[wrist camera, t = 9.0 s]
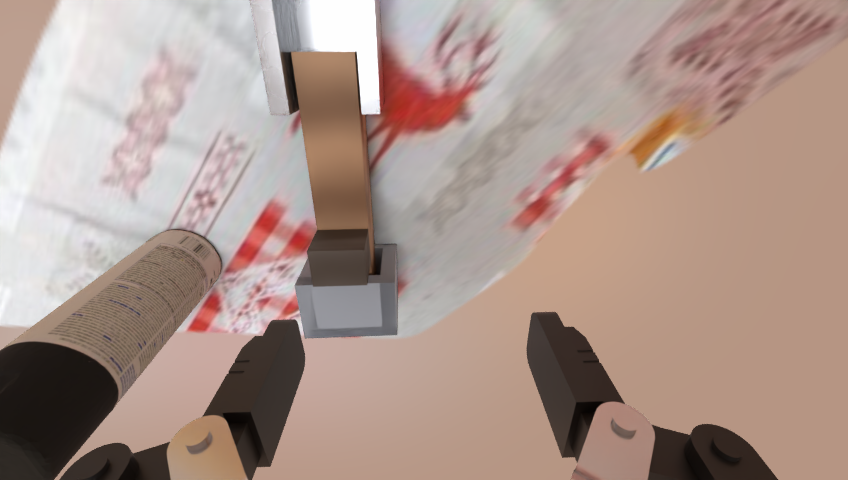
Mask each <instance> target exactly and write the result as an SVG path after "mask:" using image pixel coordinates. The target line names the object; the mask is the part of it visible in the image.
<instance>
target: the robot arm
mask: <svg viewBox="0 0 848 480" xmlns="http://www.w3.org/2000/svg"><path fill="white" fill-rule="evenodd" d="M527 359H528V363H529V366H530V369H531V372H532V375H533V378H534V380H535V383H536V386H537V389H538V392H539V394H540V397H541V400H542V402H543V405H544V408H545V411H546V413H547V416H548V419H549V422H550V425H551V428H552V430H553V433H554V436H555V439H556V441H557V444H558V447H559V450H560V453H561V455H562V458H563V457H575V458H576V461H577V466H576V469H575V470H574V472H573V474H572V477H571V480H778V479H777V478H776V476H775V475H774V474H773V473H772V471H771V470H770V469H769V467H768V466H767V465H766V464H765V462H764V461H763V460H762V459H761V457H760V456H759V455H758V453H757V452H756V451H755V450H754V449H753V447H752V446H751V445H750V444H748V442H746V441H745V440H744V439H743V438H741V437H740V436H738V435H737V434H735V433H733V432H732V431H730V430H728V429H725V428H723V427H720V426H717V425H712V424H702V425H698V426H696V427H695V428H694V429H693V430H692V433H691V434H690V435H688V434H684V433H680V432H676V431H672V430H668V429H664V428H660V427H657V426H654V425H651V423H650V422H649V421H648V419H647V418H646V417H645V416H644V415H643V414H642V413H640V412H639V411H638V410H636V409H635V408H633V407H631V406H629V405H626V404H625V403H624V402H623V400H622V398H621V396H620V395H619V393H618V392H617V390H616V388H615V386H614V385H613V383H612V381H611V380H610V378H609V376H608V375H607V373H606V371H605V370H604V368H603V366H602V364H601V363H599V359H598V358H597V356H596V355H595V353H593V349H592V348H591V346H590V344H589V342H588V341H587V339H586V337H584V336H583V335H582V334H581V333H580V332H579V331H577V330H576V329H575V328H574V327H564V325H563V323H562V322H561V320H560V318H559V316H558V314H557V313H556V312H537V313H532V315H531V321H530V328H529V334H528V341H527ZM304 366H305V353H304V348H303V344H302V340H301V335H300V331H299V327H298V323H297V321H296V320H295V319H293V320H272V321H271V322H270V324H269V325H268V327H267V329H266V331H265V333H264V335H263V336H255V337H254V338H253V339H252V340H251V341H249V342H248V343H247V344H246V345H245V346H244V347H243V348H242V349H241V351H240V353H239V354H238V356H237V358H236V360H235V363H233V365H232V367H231V368H230V370H229V374H227V376H226V377H225V379H224V381H223V382H222V384H221V386H220V388H219V389H218V391H217V393H216V394H215V396H214V398H213V400H212V401H211V403H210V405H209V407H208V408H207V410H206V412H205V413H204V415H203V417H201V418H198V419H196V420H193V421H192V422H190V423H189V424H187V425H186V426H184V427H183V428H182V429H180V430H179V431H178V433H176V435H175V436H174V437H173V439H172V440H171V442H168V443H165V444H162V445H159V446H156V447H153V448H149V449H146V450H143V451H140V452H137V453H134V454H133V453H132V452H131V450H130V449H129V447H128V446H127V445H125V444H121V443H112V444H108V445H104V446H101V447H99V448H96V449H94V450H92V451H91V452H89V453H87V454H86V455H84V456H83V457H81V458H80V459H79V460H77V461H76V462H75V463H74V464H73V465H72V466H71V467H70V468H69V469H68V470H67V471H66V472H65V473H64V475H63V476H62V477H61V479H60V480H252V478H253V475H254V473H255V470H256V468H257V467H270V466H271V463H272V460H273V458H274V455H275V451H276V449H277V446H278V443H279V440H280V437H281V435H282V432H283V429H284V426H285V423H286V420H287V417H288V414H289V411H290V408H291V406H292V403H293V399H294V397H295V394H296V391H297V388H298V385H299V382H300V380H301V377H302V374H303V371H304Z"/></svg>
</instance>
